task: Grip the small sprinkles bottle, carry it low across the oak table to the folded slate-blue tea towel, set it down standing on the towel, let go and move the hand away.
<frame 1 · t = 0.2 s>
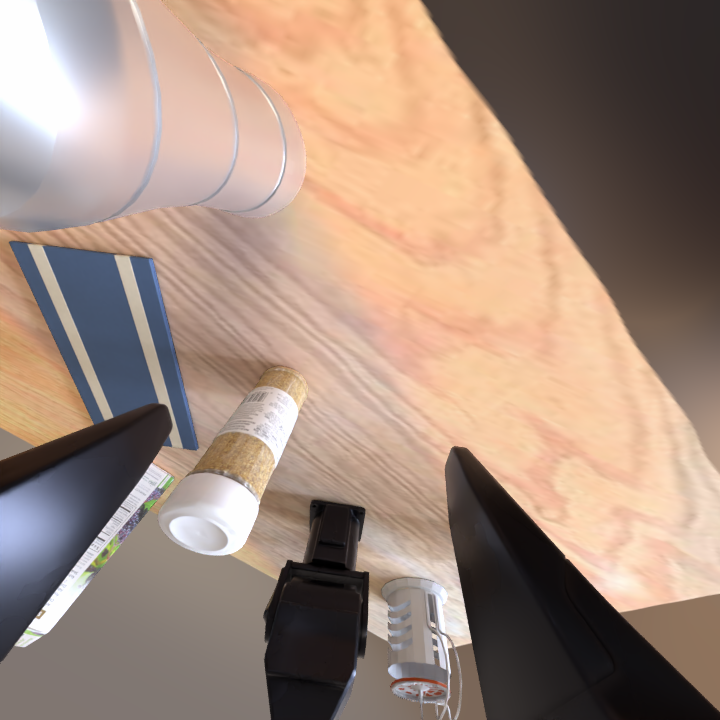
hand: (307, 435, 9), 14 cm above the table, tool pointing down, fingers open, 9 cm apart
silver water bottle: (264, 159, 18), on the table
french press: (417, 590, 42), on the table
sprinkles bottle: (286, 384, 26), on the table
tea towel: (122, 362, 26), on the table
syrup box: (145, 471, 34), on the table
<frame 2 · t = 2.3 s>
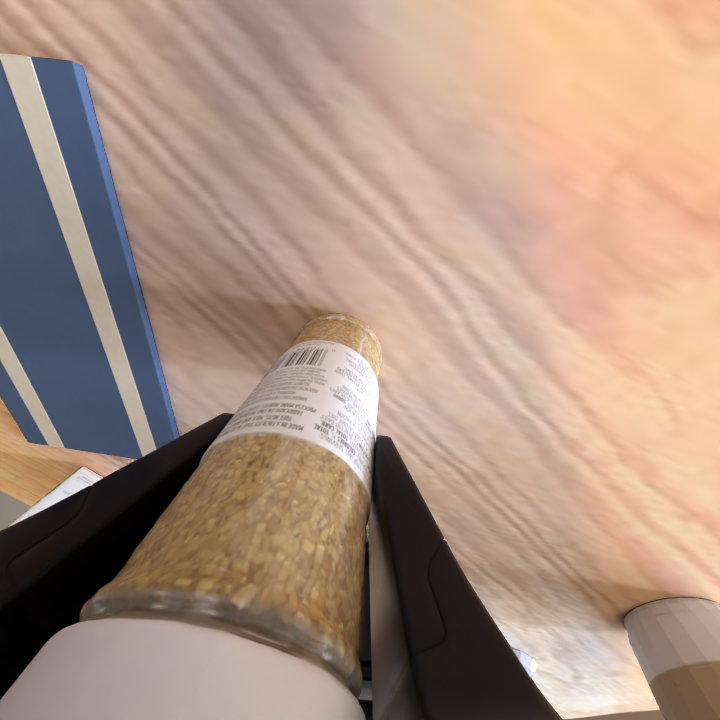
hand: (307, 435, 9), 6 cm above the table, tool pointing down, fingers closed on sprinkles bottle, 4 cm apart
coffee cup: (670, 616, 23), on the table
sprinkles bottle: (340, 351, 15), on the table, touching gripper
tea towel: (50, 313, 15), on the table
syrup box: (106, 496, 22), on the table
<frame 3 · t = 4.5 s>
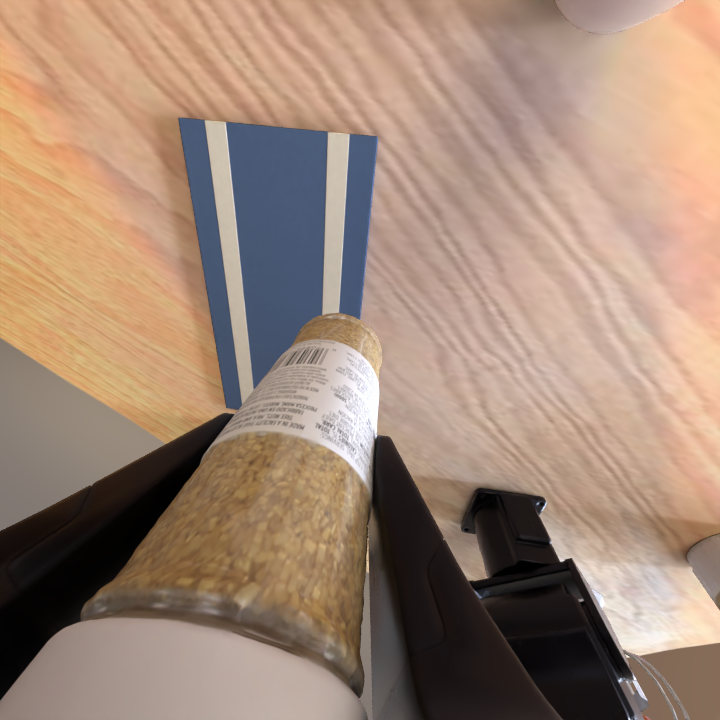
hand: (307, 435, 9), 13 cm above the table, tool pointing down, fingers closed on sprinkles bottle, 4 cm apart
french press: (564, 599, 35), on the table
sprinkles bottle: (340, 350, 15), point 6 cm above the table, touching gripper
tea towel: (285, 304, 20), on the table
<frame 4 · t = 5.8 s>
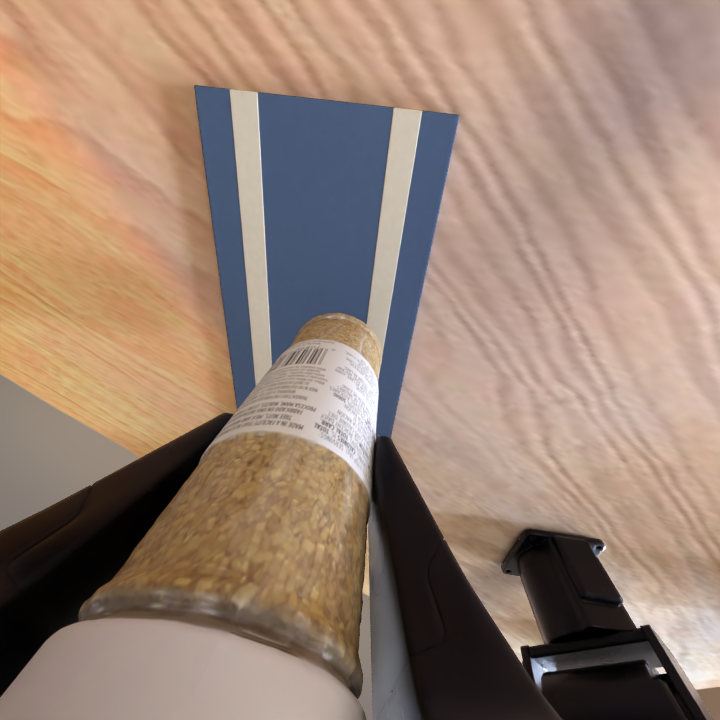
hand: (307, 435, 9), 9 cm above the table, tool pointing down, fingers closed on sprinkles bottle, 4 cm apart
sprinkles bottle: (339, 350, 15), point 2 cm above the table, touching gripper
tea towel: (318, 324, 17), on the table
when the fingers open (7 cm above the table, at t = 6.9 s): sprinkles bottle stays where it is, resting on tea towel.
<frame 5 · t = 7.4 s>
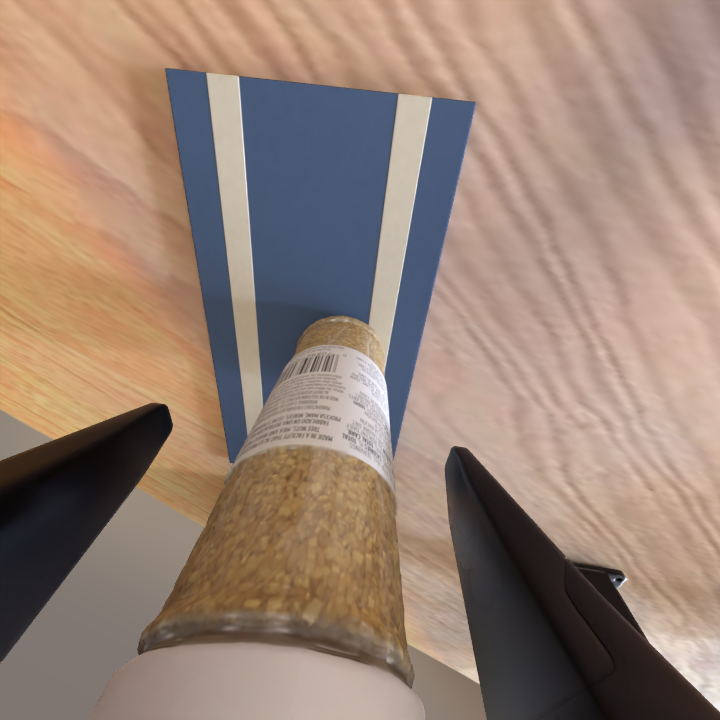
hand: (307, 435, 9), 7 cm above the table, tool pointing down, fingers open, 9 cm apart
sprinkles bottle: (342, 352, 15), resting on tea towel
tea towel: (313, 340, 15), on the table
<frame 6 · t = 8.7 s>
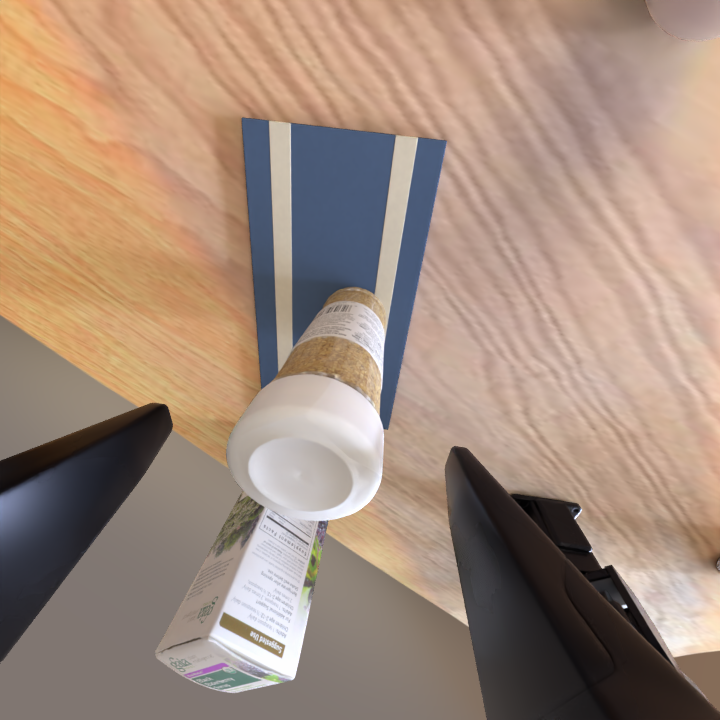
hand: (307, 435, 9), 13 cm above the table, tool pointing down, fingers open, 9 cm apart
sprinkles bottle: (355, 316, 20), resting on tea towel
tea towel: (332, 308, 20), on the table
syrup box: (300, 458, 28), on the table
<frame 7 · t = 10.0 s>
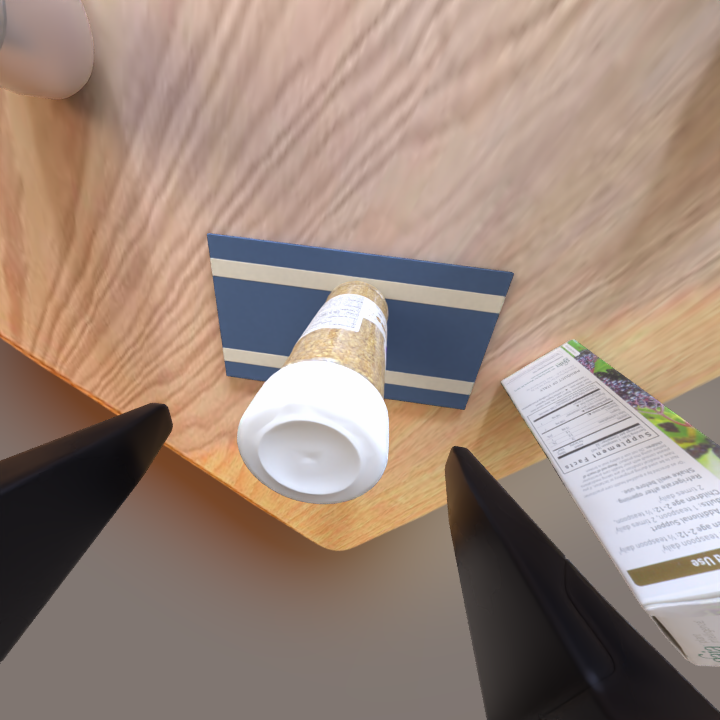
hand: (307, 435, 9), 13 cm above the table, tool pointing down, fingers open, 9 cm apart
silver water bottle: (56, 29, 15), on the table
sprinkles bottle: (356, 310, 20), resting on tea towel
tea towel: (350, 329, 21), on the table
syrup box: (548, 383, 22), on the table
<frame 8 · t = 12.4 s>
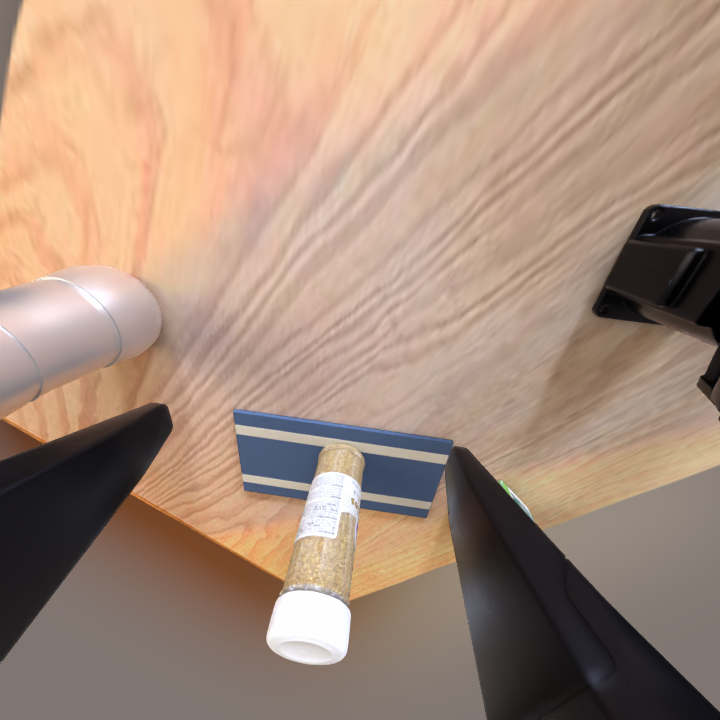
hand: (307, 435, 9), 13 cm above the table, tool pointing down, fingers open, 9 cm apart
silver water bottle: (135, 303, 22), on the table
sprinkles bottle: (342, 456, 27), resting on tea towel
tea towel: (338, 466, 28), on the table
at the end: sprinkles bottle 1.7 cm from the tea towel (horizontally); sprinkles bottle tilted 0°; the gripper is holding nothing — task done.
